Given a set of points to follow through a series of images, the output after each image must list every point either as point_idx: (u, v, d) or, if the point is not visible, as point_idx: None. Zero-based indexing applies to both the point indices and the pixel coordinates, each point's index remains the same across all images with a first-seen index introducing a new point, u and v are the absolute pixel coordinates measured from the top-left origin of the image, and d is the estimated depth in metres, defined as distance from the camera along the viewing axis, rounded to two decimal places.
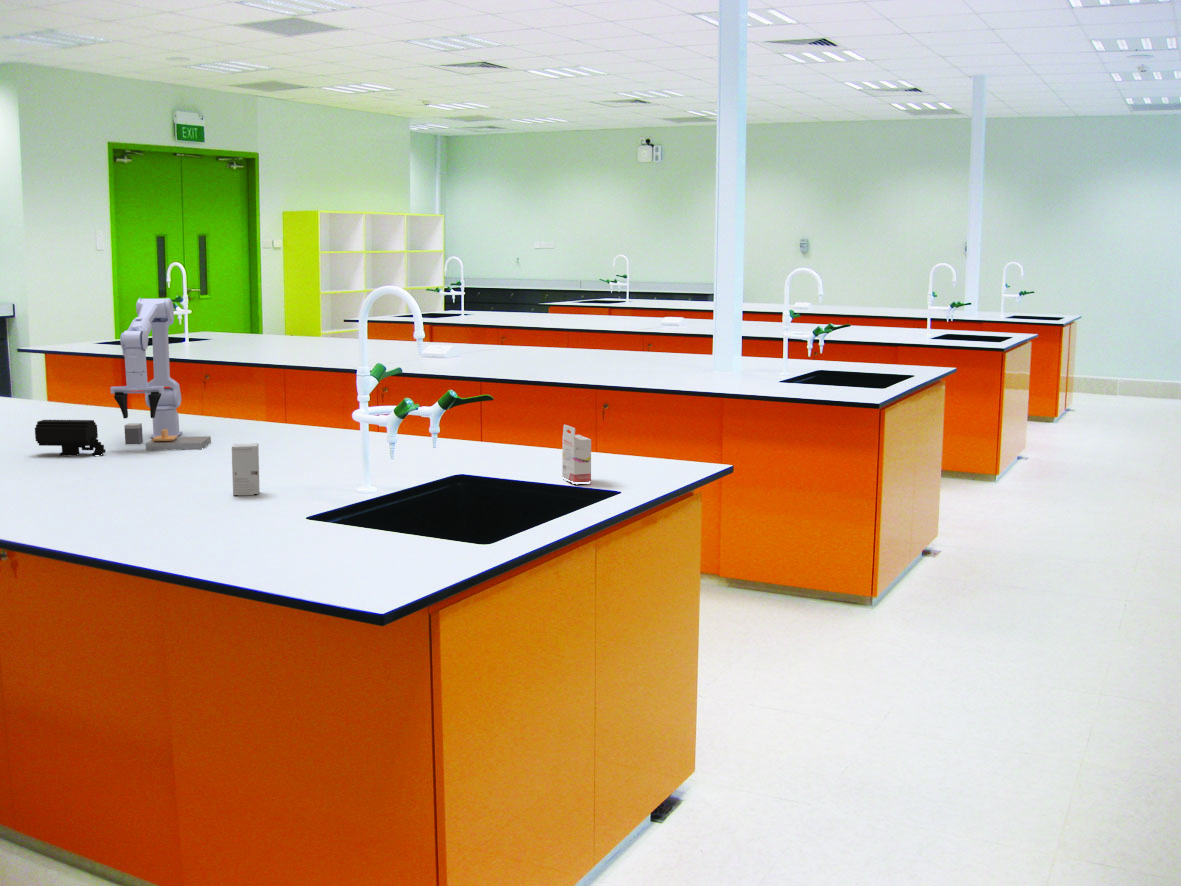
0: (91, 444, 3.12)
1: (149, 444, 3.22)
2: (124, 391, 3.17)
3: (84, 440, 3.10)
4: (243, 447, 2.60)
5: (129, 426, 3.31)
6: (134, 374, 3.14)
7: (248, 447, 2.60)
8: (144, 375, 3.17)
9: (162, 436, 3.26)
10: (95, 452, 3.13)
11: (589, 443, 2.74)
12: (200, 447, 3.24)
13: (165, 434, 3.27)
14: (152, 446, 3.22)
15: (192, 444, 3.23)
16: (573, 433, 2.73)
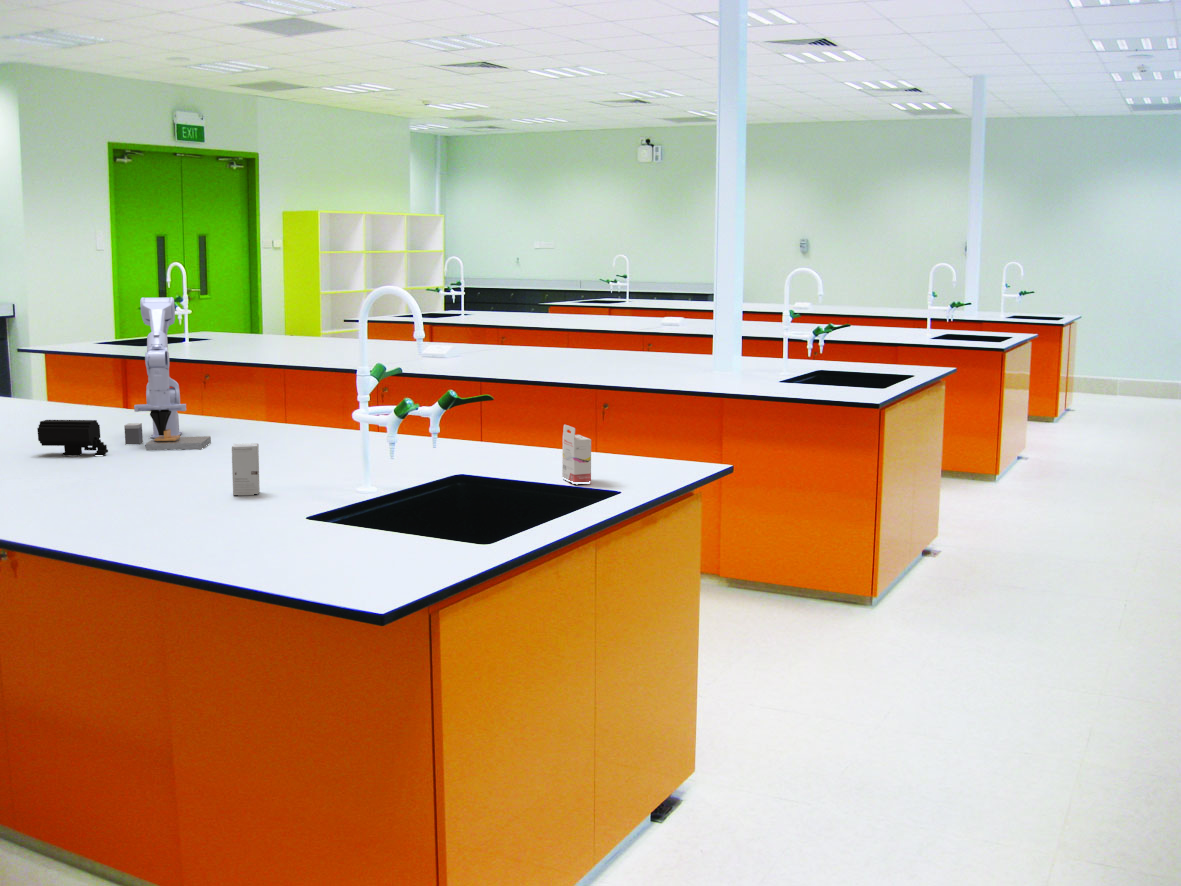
0: (94, 444, 3.12)
1: (149, 444, 3.22)
2: (147, 409, 3.26)
3: (87, 440, 3.10)
4: (243, 447, 2.60)
5: (129, 426, 3.31)
6: (157, 392, 3.23)
7: (248, 447, 2.60)
8: (167, 393, 3.25)
9: (165, 436, 3.26)
10: (98, 452, 3.13)
11: (589, 443, 2.74)
12: (200, 447, 3.24)
13: (168, 434, 3.27)
14: (152, 446, 3.22)
15: (192, 444, 3.23)
16: (573, 433, 2.73)
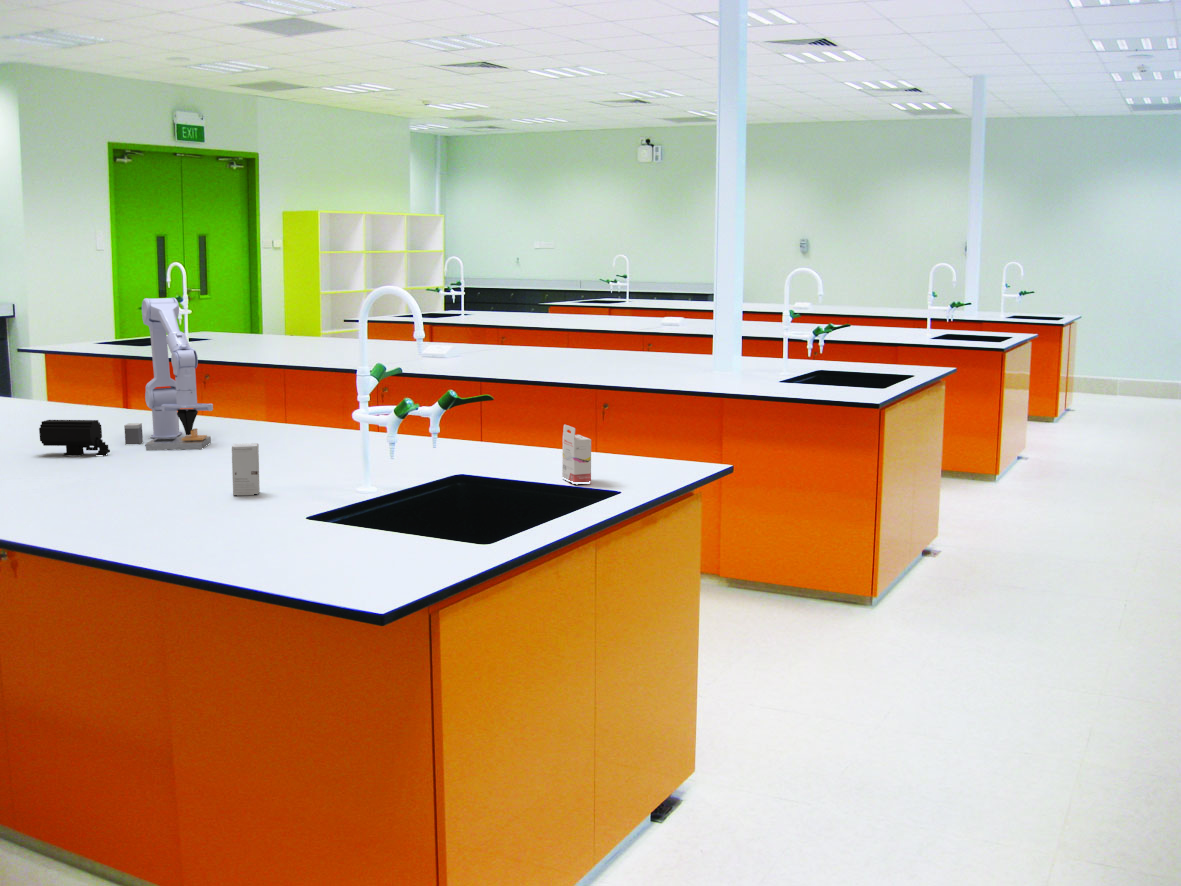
0: (95, 444, 3.12)
1: (149, 444, 3.22)
2: (174, 409, 3.27)
3: (88, 440, 3.10)
4: (243, 447, 2.60)
5: (129, 426, 3.31)
6: (184, 392, 3.24)
7: (248, 447, 2.60)
8: (194, 393, 3.26)
9: (192, 436, 3.27)
10: (99, 452, 3.13)
11: (589, 443, 2.74)
12: (200, 447, 3.24)
13: (194, 434, 3.28)
14: (152, 446, 3.22)
15: (192, 444, 3.23)
16: (573, 433, 2.73)
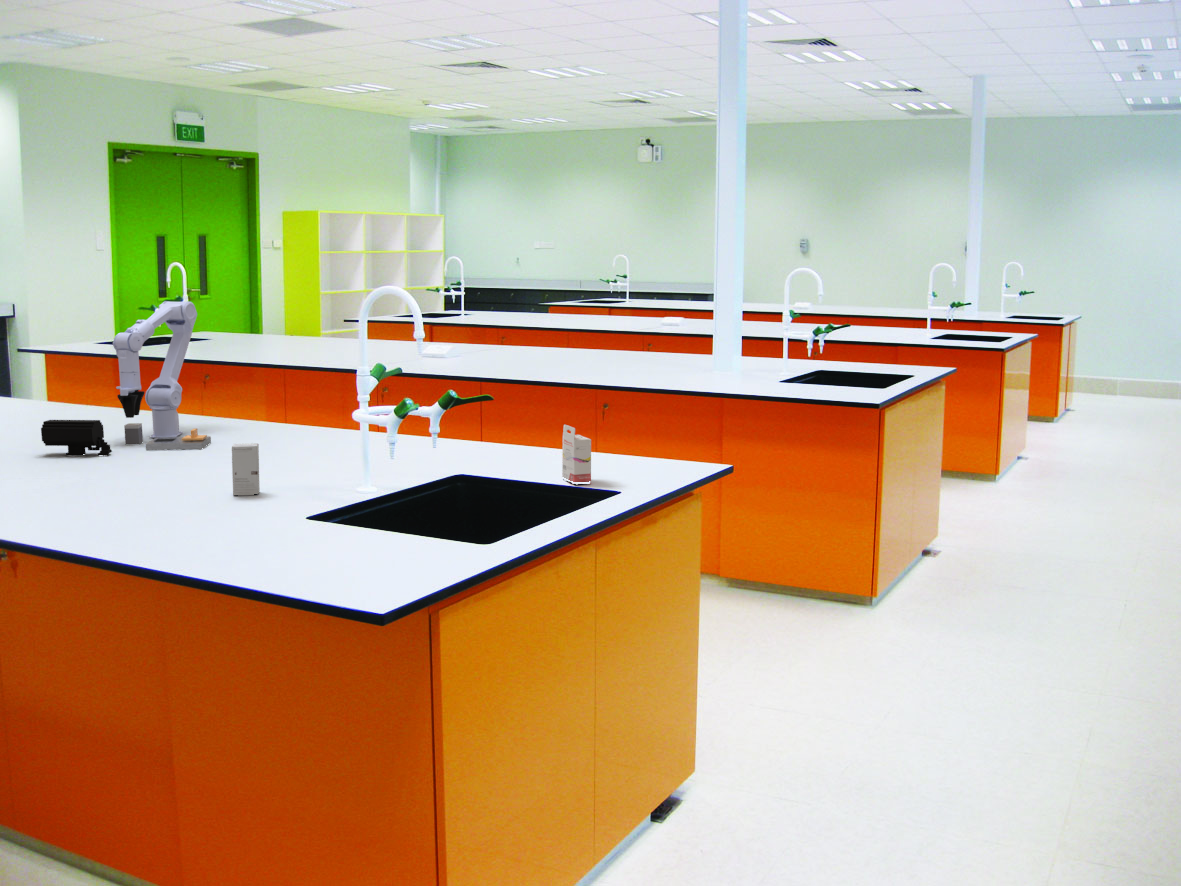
0: (97, 444, 3.12)
1: (149, 444, 3.22)
2: None
3: (90, 440, 3.10)
4: (243, 447, 2.60)
5: (129, 426, 3.31)
6: None
7: (248, 447, 2.60)
8: (124, 376, 3.28)
9: (192, 436, 3.27)
10: (101, 452, 3.13)
11: (589, 443, 2.74)
12: (200, 447, 3.24)
13: (194, 434, 3.28)
14: (152, 446, 3.22)
15: (192, 444, 3.23)
16: (573, 433, 2.73)
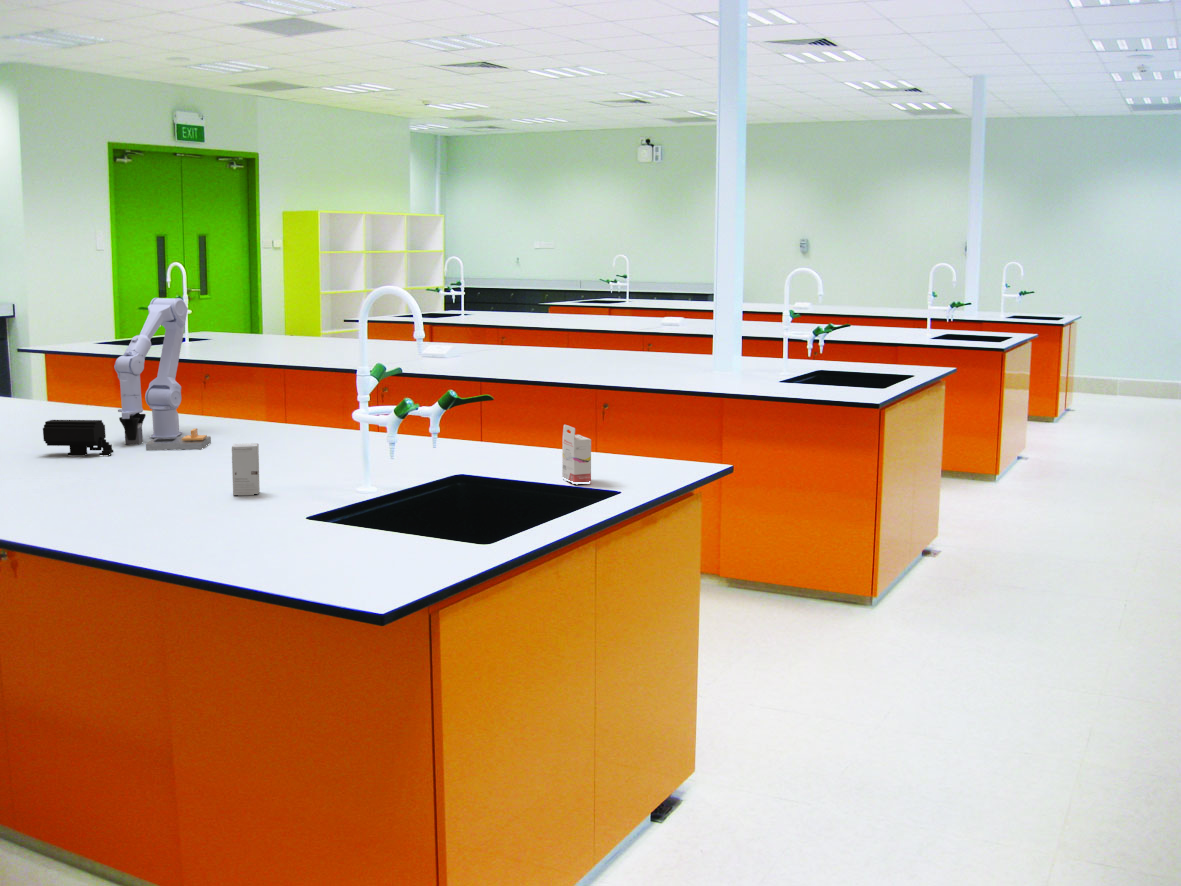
0: (99, 444, 3.12)
1: (149, 444, 3.22)
2: None
3: (92, 440, 3.10)
4: (243, 447, 2.60)
5: None
6: None
7: (248, 447, 2.60)
8: (125, 399, 3.29)
9: (192, 436, 3.27)
10: (103, 452, 3.13)
11: (589, 443, 2.74)
12: (200, 447, 3.24)
13: (194, 434, 3.28)
14: (152, 446, 3.22)
15: (192, 444, 3.23)
16: (573, 433, 2.73)
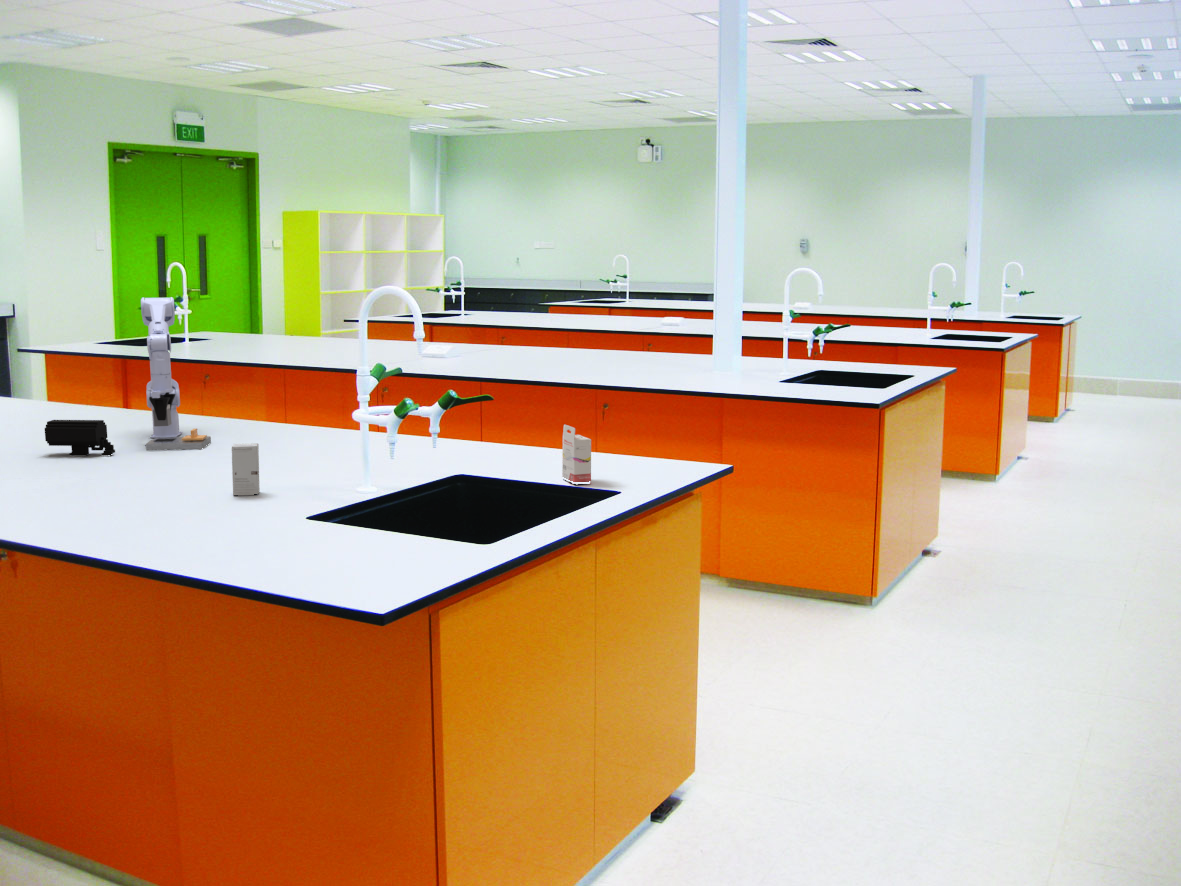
0: (101, 444, 3.12)
1: (149, 444, 3.22)
2: None
3: (94, 440, 3.10)
4: (243, 447, 2.60)
5: None
6: None
7: (248, 447, 2.60)
8: (155, 378, 3.22)
9: (192, 436, 3.27)
10: (105, 452, 3.13)
11: (589, 443, 2.74)
12: (200, 447, 3.24)
13: (194, 434, 3.28)
14: (152, 446, 3.22)
15: (192, 444, 3.23)
16: (573, 433, 2.73)
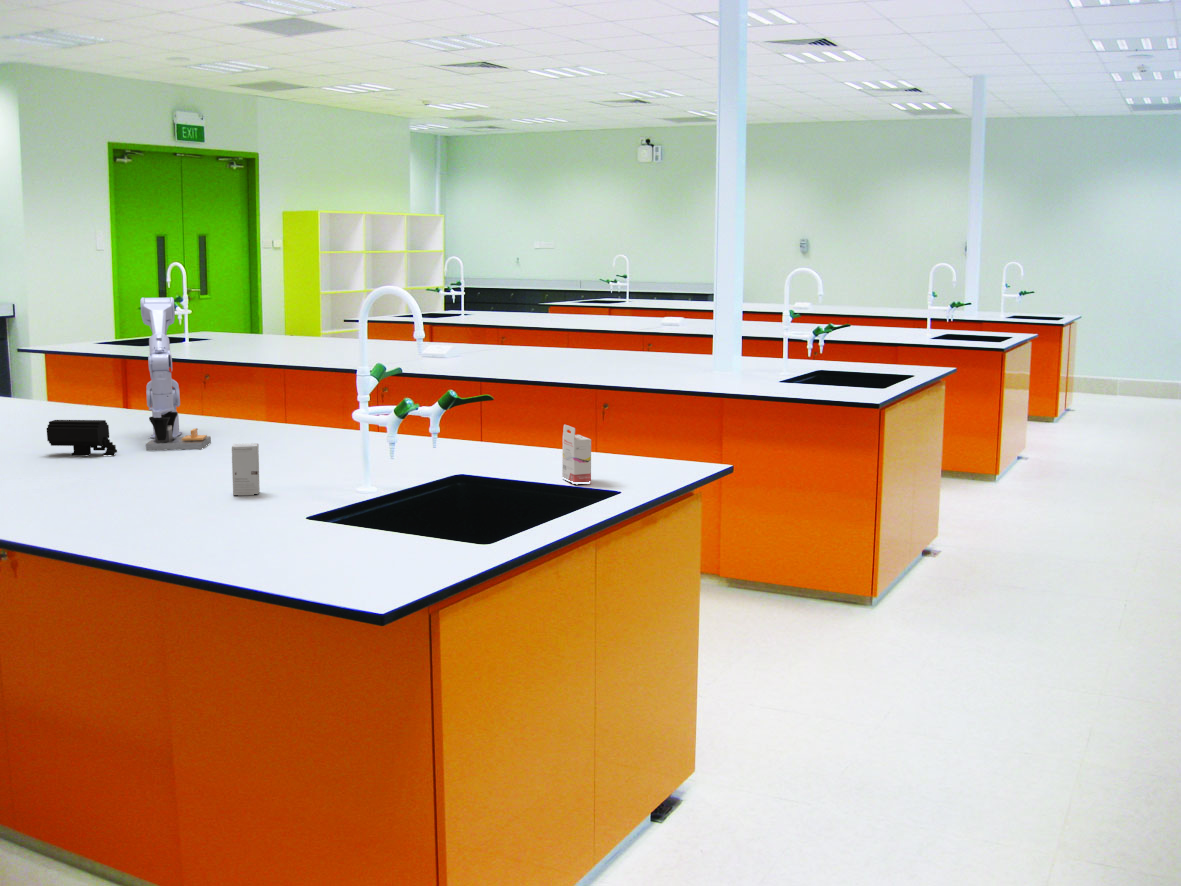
0: (103, 444, 3.12)
1: (149, 444, 3.22)
2: None
3: (96, 440, 3.10)
4: (243, 447, 2.60)
5: None
6: None
7: (248, 447, 2.60)
8: (156, 398, 3.23)
9: (192, 436, 3.27)
10: (107, 452, 3.13)
11: (589, 443, 2.74)
12: (200, 447, 3.24)
13: (194, 434, 3.28)
14: (152, 446, 3.22)
15: (192, 444, 3.23)
16: (573, 433, 2.73)
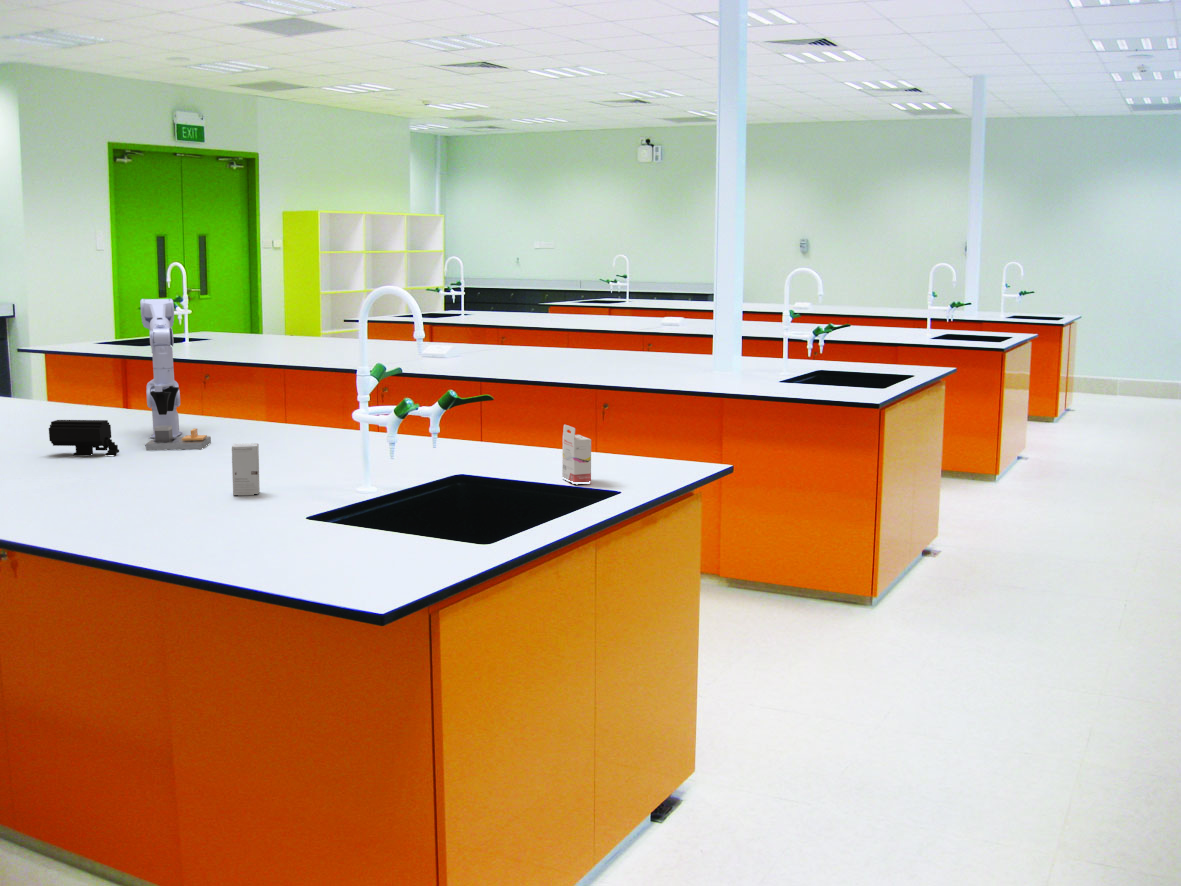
0: (105, 444, 3.12)
1: (149, 444, 3.22)
2: None
3: (98, 440, 3.10)
4: (243, 447, 2.60)
5: (159, 428, 3.25)
6: None
7: (248, 447, 2.60)
8: (158, 372, 3.25)
9: (192, 436, 3.27)
10: (109, 452, 3.12)
11: (589, 443, 2.74)
12: (200, 447, 3.24)
13: (194, 434, 3.28)
14: (152, 446, 3.22)
15: (192, 444, 3.23)
16: (573, 433, 2.73)
